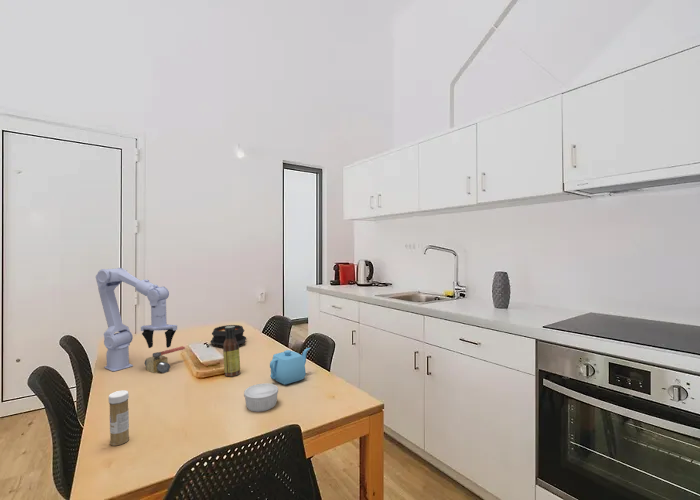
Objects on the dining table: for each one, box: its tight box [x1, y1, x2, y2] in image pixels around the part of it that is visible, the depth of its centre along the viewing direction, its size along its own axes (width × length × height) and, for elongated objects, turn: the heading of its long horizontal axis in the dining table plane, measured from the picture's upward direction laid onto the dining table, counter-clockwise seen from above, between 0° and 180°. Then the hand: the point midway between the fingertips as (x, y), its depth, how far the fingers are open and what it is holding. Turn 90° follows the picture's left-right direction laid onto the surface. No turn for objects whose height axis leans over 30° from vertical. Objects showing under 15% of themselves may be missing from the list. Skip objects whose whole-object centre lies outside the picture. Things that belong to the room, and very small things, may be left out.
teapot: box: [269, 347, 311, 385], centre depth 139 cm, size 12×18×12 cm
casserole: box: [209, 324, 247, 347], centre depth 191 cm, size 25×19×8 cm
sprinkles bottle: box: [108, 390, 130, 447], centre depth 96 cm, size 5×5×13 cm
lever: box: [152, 345, 185, 357], centre depth 156 cm, size 3×14×1 cm, turn 145°
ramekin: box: [243, 382, 279, 413], centre depth 116 cm, size 11×11×5 cm
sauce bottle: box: [222, 325, 241, 377], centre depth 144 cm, size 6×6×20 cm
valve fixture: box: [144, 355, 171, 374], centre depth 152 cm, size 14×6×6 cm, turn 55°
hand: (159, 347), depth 150 cm, fingers open, 7 cm apart
